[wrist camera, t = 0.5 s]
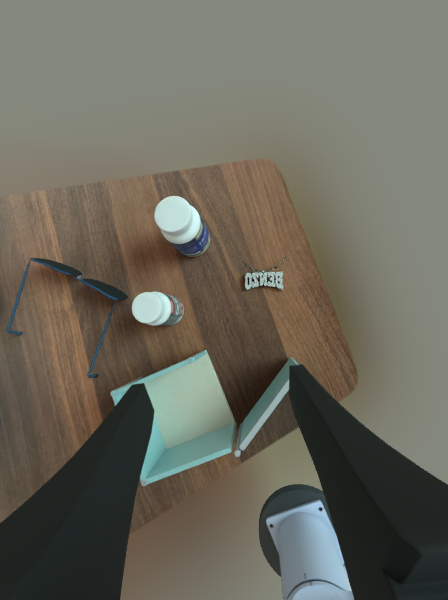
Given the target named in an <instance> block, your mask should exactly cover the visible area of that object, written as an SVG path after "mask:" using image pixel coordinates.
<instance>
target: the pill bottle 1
mask: <svg viewBox="0 0 448 600" xmlns="http://www.w3.org/2000/svg"><path fill="white" fill-rule="evenodd" d="M155 221H156V223H157V225H158V226H159V228H160V229H161V232H162V234H163V236H164V237H165V238H166V239H167V240H168V241H169V242H170V243H171V244H172V245H173V246H174V247H175V248H176V249H177V250H178V251H180V252H181V253H182V254H183V255H185V256H189V257H196V256H199V255H201V254H202V253H204V252H205V251H206V249H207V248H208V246H209V243H210V235H209V232H208V230H207V228H206V226H205V225H204V223H203V221H202V219H201V217H200V215H199V214H198V212H197V211H196V209H195V208H194V207H192V206H191V205H189V204H188V203H187V201H186V200H184V199H183V198H181V197H178V196H170V197H167V198H165V199H163V200H162V201H161V202H160V203H159V204H158V205H157V207H156V210H155Z"/></svg>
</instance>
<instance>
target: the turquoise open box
mask: <svg viewBox="0 0 448 600" xmlns="http://www.w3.org/2000/svg"><path fill="white" fill-rule="evenodd" d="M141 383H144V384H145V387H146V389H147V392H148V395H149V397H150V400H151V403H152V405H153V408H154V410H155V412H154V419H153V426H152V433H151V437H150V441H149V445H148V449H147V452H146V456H145V460H144V464H143V468H142V471H141V475H140V479H141V484H142V486H146V485H147V484H149V483H152V482H154V481H157V480H160V479H162V478H165V477H168V476H170V475H173V474H175V473H178V472H181V471H183V470H186V469H188V468H191V467H194V466H196V465H199V464H202V463H204V462H207V461H209V460H212V459H215V458H217V457H220V456H223V455H225V454H228V453H230V452H231V451H232V446H233V441H234V436H235V431H236V426H237V423H236V421H235V418H234V416H233V414H232V411H231V409H230V406H229V404H228V401H227V399H226V397H225V394H224V392H223V389H222V387H221V384H220V382H219V380H218V377H217V375H216V372H215V370H214V367H213V365H212V363H211V360H210V358H209V355H208V353H207V350H202V351H200V352H198V353H197V354H194V355H192V356H190V357H188V358H185V359H183V360H181V361H178V362H176V363H174V364H171V365H169V366H167V367H164V368H162V369H160V370H157V371H155V372H153V373H151V374H148V375H146V376H144V377H140V378H138V379H136V380H134V381H132V382H129V383H127V384H125V385H123V386H121V387H119V388H117V389H115V390H113V391H111V396H112V398H113V401H114V404H115V406H116V405H117V403H118V402H119V401H120V399H121V398H122V397H123V395H124V394H125V393H126V391H127V390H128V389H129V388H130V386H131V385H133V384H141ZM242 425H243V424H242V423H241V424H240V425H239V431H238V436H237V442H236V448H235V456H237V457H239V456H240V454H241V449H240V448H239V444H240V438H241V432H242Z"/></svg>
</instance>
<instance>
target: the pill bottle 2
mask: <svg viewBox="0 0 448 600" xmlns="http://www.w3.org/2000/svg"><path fill="white" fill-rule="evenodd" d="M132 313H133V315H134V317H135V318H136V319H137V320H138V321H139V322H142V323H146V324H148V325H152V326H163V325H173V324H176V323H178V322H179V321H180V320H181V319H182V317H183V314H184V306H183V304H182V302H181V301H180V300H179V299H178V298H176V297H174V296H171V295H167V294H164V293H160V292H151V293H150V292H145V293H141V294H139V295H138V296H137V297H136V298H135V299H134V301H133V304H132Z"/></svg>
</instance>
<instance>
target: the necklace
mask: <svg viewBox="0 0 448 600" xmlns="http://www.w3.org/2000/svg"><path fill="white" fill-rule="evenodd" d="M284 260H285V257H284V259H283V261H284ZM283 261H282V262H283ZM282 262H281V264H282ZM243 263H244V262H243ZM281 264H279V265H281ZM245 265H246V264H245ZM279 265H278V266H279ZM278 266H277V267H278ZM247 267H248V266H247ZM277 267H275V268H277ZM248 268H250V267H248ZM275 268H273V269H275ZM250 269H251V268H250ZM253 270H254V269H253ZM271 270H272V269H271ZM271 270H270V271H271ZM254 271H255V270H254ZM256 271H257V270H256ZM267 271H269V270H267ZM267 271H262V273H252V275H251V274H250V273H247V274H246V276H245V288H246V289H247V290H249V289H250V288H251V286H252V288H254V287H259V283H258V281H257V279H256V277H257V278H259V276H260V286H262V285H263V282H264V279H265V282H264V286H270V287H275V285H276V287H277V288H279V289H282V290H283V285H282V276H283V272H277V273H276V274H275V272H268V274H267ZM258 272H259V271H258ZM260 272H261V271H260ZM263 273H264V275H263ZM267 275H268V278H270V276H272V278H270V281H272V283H270V281H268V283H267ZM262 276H263V278H262ZM274 276H275V279H276V281H275V283H274ZM252 277H253V279H254V281H255V283H254V282H252ZM278 277H279V278H278ZM248 278H249V283H250V284H249V285H248ZM278 282H279V283H280V284H278Z"/></svg>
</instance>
